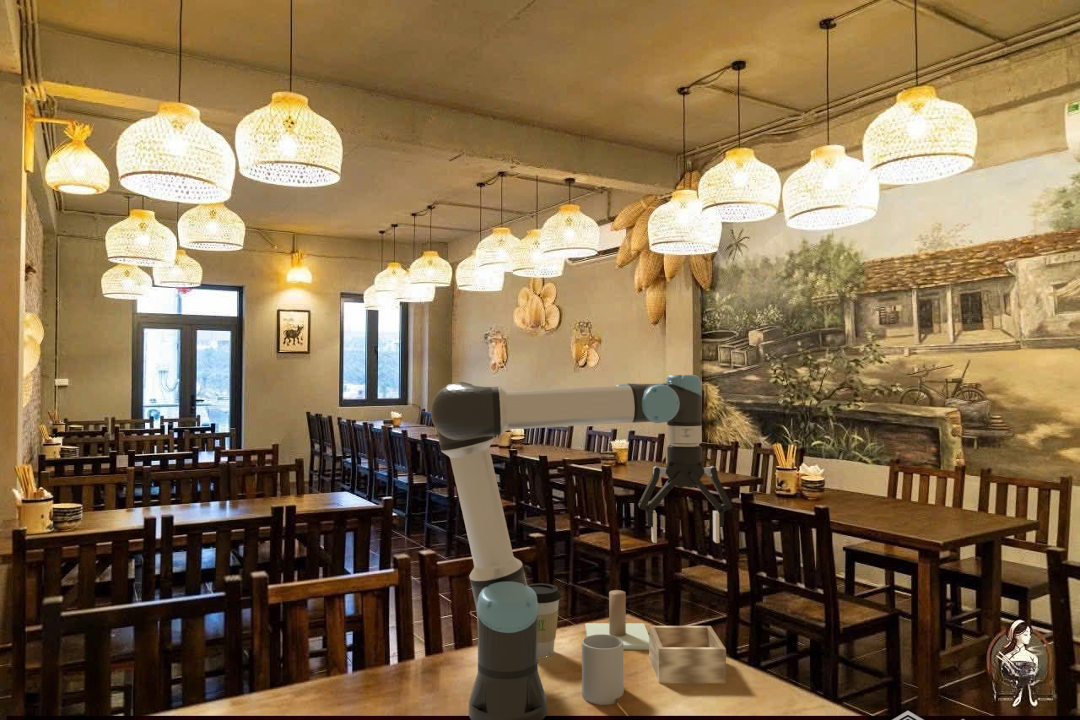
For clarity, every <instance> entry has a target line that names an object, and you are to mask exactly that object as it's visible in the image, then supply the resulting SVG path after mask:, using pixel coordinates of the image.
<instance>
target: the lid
mask: <svg viewBox="0 0 1080 720" xmlns="http://www.w3.org/2000/svg"><path fill="white" fill-rule="evenodd" d="M626 595H627V594H626V591H624V590H619V589H614V590H610V591H609V592H608V599H609V600H608V601H609V603H608V609H609V614H608V615H609V616H608V617H609V620H608V622H607V623H606V622H603V623H601V622H597V623H594V622H593V623H592V622H591V623H590V622H588V623H587V622H586V623H585V624H584V626H585V627H584V628H585V634H586V637H587V636H591V635H597V634H605V635H612V636H616V637H618V638H620V639H621V640H622V641H623V651H624V650H626V651H627V650H638V651H639V650H641V651H642V650H648V651H649V631H648V630H647V628H646V626H645V623H641V622H639V623H637V622H636V623H635V622H632V623H631V622H630V623H628V622H627V621H626V619H627V617H626V616H627V613H626V612H627V611H626V610H627V609H626V607H627V605H626V600H627V599H626V598H627V597H626ZM626 622H627V623H626Z"/></svg>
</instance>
